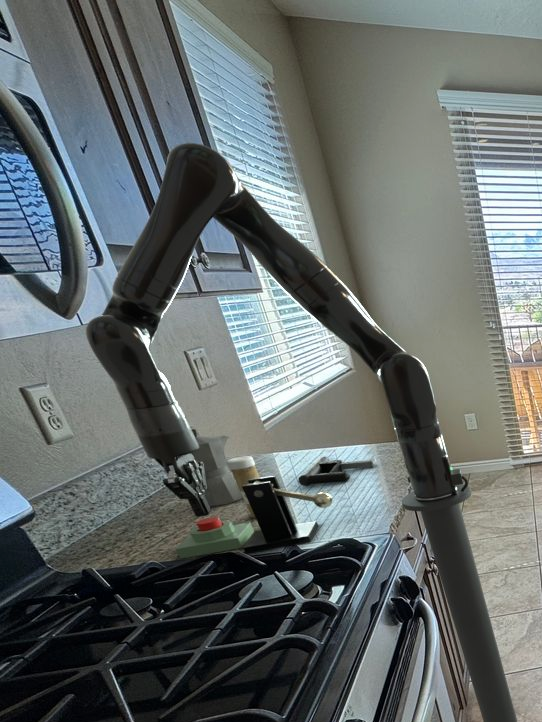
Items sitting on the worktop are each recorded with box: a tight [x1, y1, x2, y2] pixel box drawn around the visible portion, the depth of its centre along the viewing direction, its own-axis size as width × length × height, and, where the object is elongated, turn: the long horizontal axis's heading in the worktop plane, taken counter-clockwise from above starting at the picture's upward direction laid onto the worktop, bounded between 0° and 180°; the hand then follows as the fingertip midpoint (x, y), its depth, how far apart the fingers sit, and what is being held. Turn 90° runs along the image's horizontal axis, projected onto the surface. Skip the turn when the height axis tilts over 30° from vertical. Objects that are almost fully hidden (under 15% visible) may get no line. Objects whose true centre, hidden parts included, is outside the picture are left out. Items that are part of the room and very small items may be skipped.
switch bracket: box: [242, 474, 319, 554], centre depth 114 cm, size 11×9×13 cm
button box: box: [175, 520, 255, 560], centre depth 115 cm, size 10×9×4 cm
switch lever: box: [253, 481, 333, 509], centre depth 114 cm, size 13×3×3 cm, turn 114°
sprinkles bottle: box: [226, 455, 261, 519], centre depth 127 cm, size 5×5×14 cm
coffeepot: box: [154, 428, 243, 508], centre depth 136 cm, size 15×9×18 cm, turn 158°
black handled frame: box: [296, 456, 375, 487], centre depth 155 cm, size 3×20×16 cm
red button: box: [195, 516, 222, 531], centre depth 113 cm, size 4×4×2 cm
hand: (204, 514), depth 112 cm, fingers closed
